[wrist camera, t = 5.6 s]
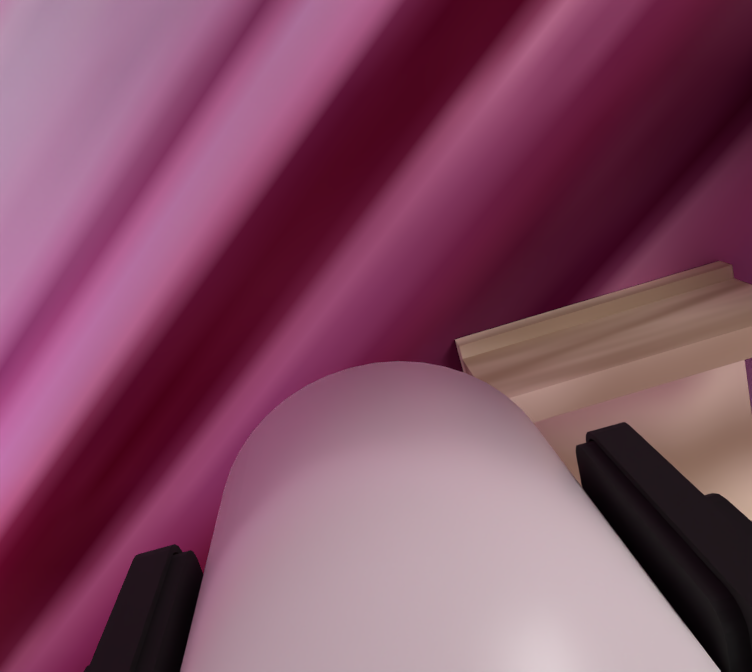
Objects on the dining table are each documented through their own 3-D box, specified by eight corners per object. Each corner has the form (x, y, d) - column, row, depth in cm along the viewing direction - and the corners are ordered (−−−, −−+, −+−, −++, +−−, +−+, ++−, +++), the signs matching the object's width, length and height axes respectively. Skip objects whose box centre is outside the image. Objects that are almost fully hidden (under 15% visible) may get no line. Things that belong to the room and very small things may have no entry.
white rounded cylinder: (171, 415, 11) (-27, 823, 4) (527, 320, 11) (830, 587, 5) (277, 702, 12) (242, 1297, 6) (585, 617, 12) (868, 1119, 6)
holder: (454, 339, 26) (487, 388, 21) (719, 260, 26) (812, 291, 21) (524, 606, 29) (566, 699, 24) (757, 536, 29) (843, 617, 24)
